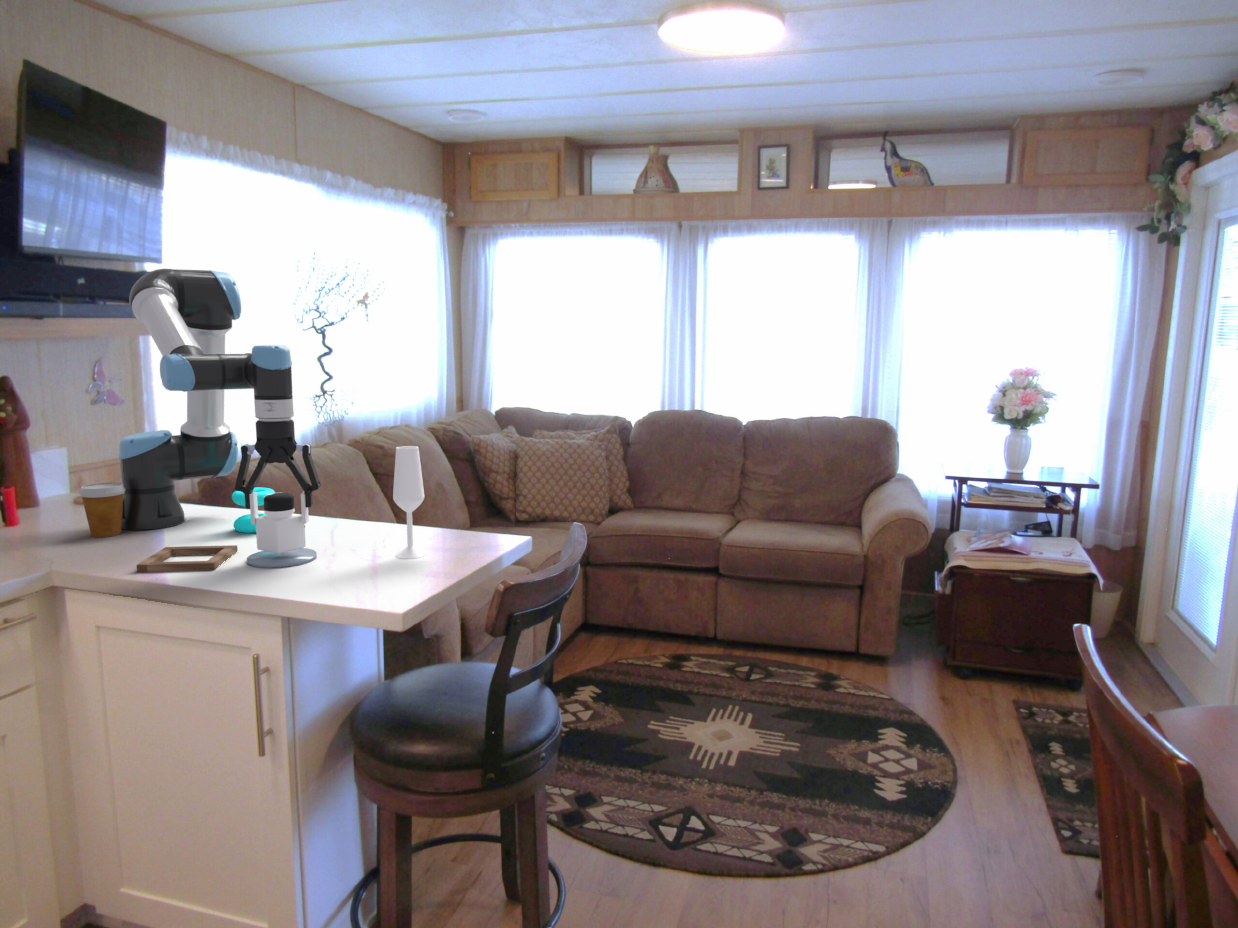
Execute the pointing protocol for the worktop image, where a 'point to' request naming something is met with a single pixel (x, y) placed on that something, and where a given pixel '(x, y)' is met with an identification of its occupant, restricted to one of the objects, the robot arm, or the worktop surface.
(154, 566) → the wooden picture frame
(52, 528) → the worktop surface
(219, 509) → the worktop surface
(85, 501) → the disposable coffee cup
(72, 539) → the worktop surface
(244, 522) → the donuts
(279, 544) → the medicine bottle
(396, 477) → the champagne flute
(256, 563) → the slate plate
